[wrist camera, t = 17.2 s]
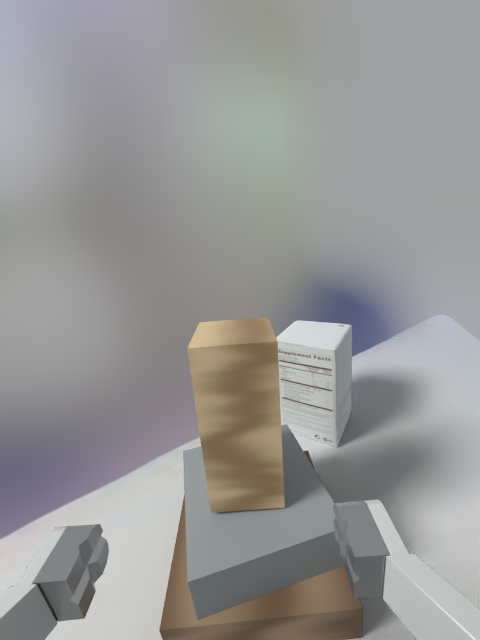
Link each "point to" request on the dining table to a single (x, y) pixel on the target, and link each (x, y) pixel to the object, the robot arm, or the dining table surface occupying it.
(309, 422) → the supplement box
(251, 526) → the tower top slab
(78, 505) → the dining table surface
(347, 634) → the tower base slab
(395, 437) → the dining table surface
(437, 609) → the robot arm
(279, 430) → the oak block
